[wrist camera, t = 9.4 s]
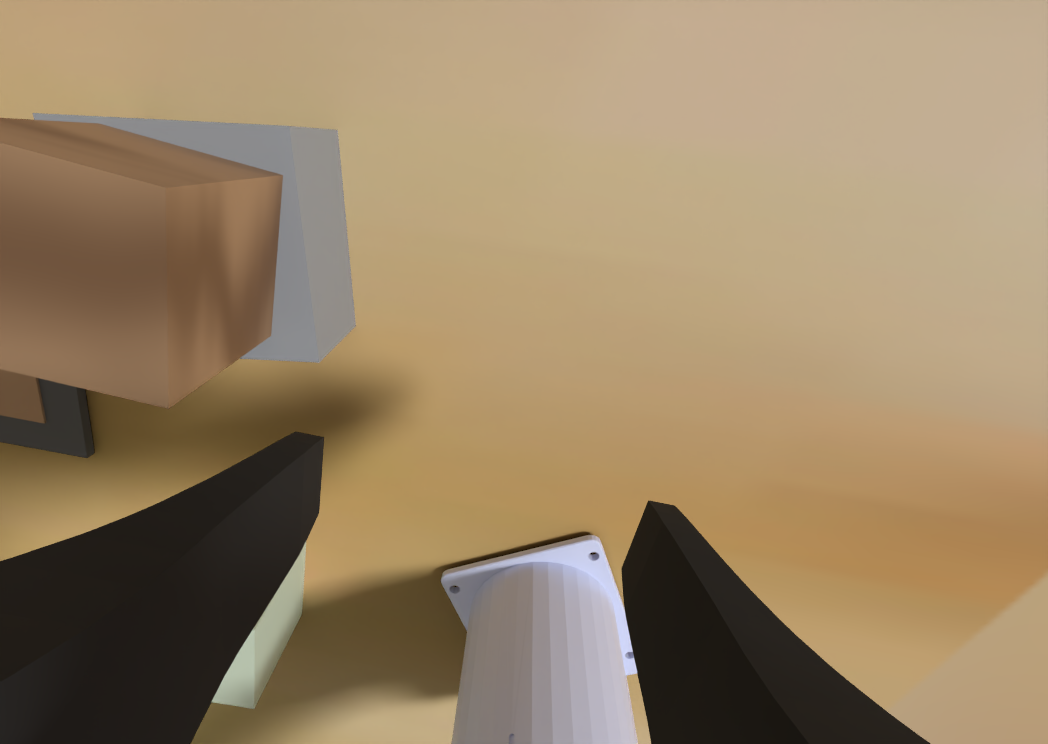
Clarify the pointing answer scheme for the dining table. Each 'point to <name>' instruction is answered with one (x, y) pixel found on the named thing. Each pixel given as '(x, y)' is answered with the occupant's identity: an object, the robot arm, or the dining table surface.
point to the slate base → (282, 223)
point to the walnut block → (130, 259)
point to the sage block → (265, 642)
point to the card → (44, 415)
